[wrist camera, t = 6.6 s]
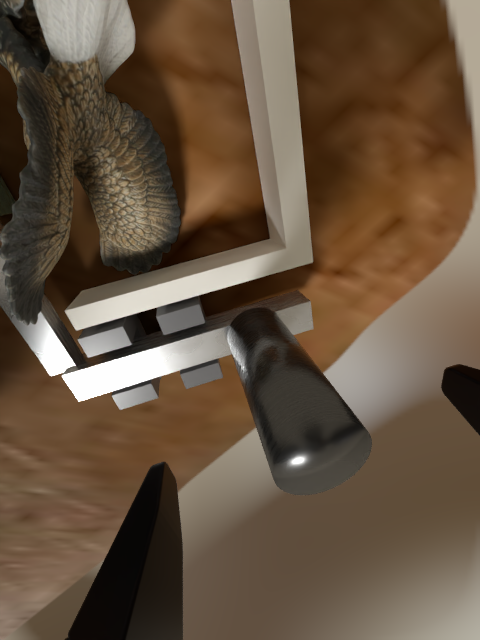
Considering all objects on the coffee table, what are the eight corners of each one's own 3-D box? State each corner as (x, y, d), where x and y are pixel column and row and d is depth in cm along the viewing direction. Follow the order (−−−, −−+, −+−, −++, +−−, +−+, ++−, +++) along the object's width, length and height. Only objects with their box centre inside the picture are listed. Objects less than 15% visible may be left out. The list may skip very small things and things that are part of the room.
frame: (91, 308, 14) (76, 330, 12) (-182, -196, 7) (-339, -364, 5) (293, 250, 15) (313, 262, 13) (231, -247, 8) (252, -407, 6)
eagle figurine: (-149, 66, 8) (14, 327, 11) (-439, -364, 3) (18, 350, 6) (98, 81, 13) (171, 267, 16) (164, -84, 7) (259, 248, 10)
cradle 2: (185, 361, 17) (187, 391, 14) (157, 291, 15) (154, 312, 12) (217, 351, 17) (223, 380, 15) (194, 280, 15) (197, 300, 12)
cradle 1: (129, 378, 17) (121, 412, 14) (92, 309, 14) (75, 335, 12) (161, 368, 17) (159, 400, 14) (130, 298, 14) (120, 322, 12)
